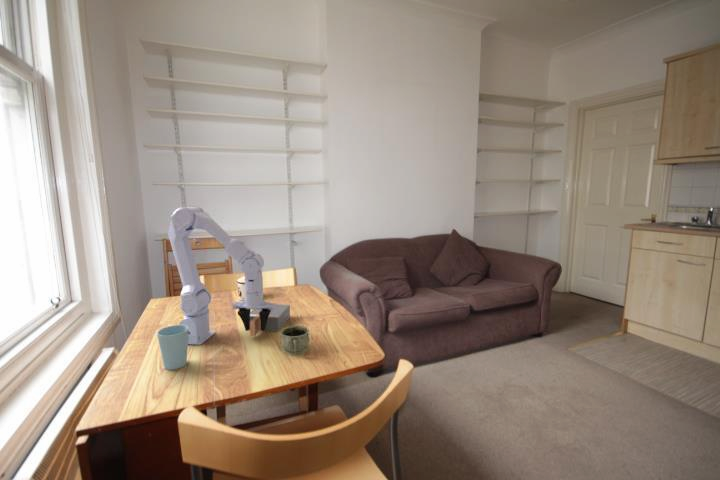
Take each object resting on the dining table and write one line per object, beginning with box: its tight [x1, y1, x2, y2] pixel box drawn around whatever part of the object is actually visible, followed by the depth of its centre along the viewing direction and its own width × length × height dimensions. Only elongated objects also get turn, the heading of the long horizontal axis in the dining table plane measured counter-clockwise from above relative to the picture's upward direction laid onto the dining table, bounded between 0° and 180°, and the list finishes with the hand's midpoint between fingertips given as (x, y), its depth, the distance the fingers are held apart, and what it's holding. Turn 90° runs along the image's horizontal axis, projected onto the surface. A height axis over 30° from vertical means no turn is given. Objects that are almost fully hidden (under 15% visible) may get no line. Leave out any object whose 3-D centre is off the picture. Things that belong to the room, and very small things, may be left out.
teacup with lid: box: [236, 275, 245, 302], centre depth 153 cm, size 12×9×12 cm
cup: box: [156, 324, 189, 371], centre depth 93 cm, size 8×8×10 cm
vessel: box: [280, 325, 310, 356], centre depth 104 cm, size 12×9×6 cm
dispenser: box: [247, 303, 291, 332], centre depth 124 cm, size 14×12×6 cm
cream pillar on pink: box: [249, 310, 272, 337], centre depth 120 cm, size 20×2×5 cm, turn 175°
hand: (255, 329), depth 112 cm, fingers open, 5 cm apart
